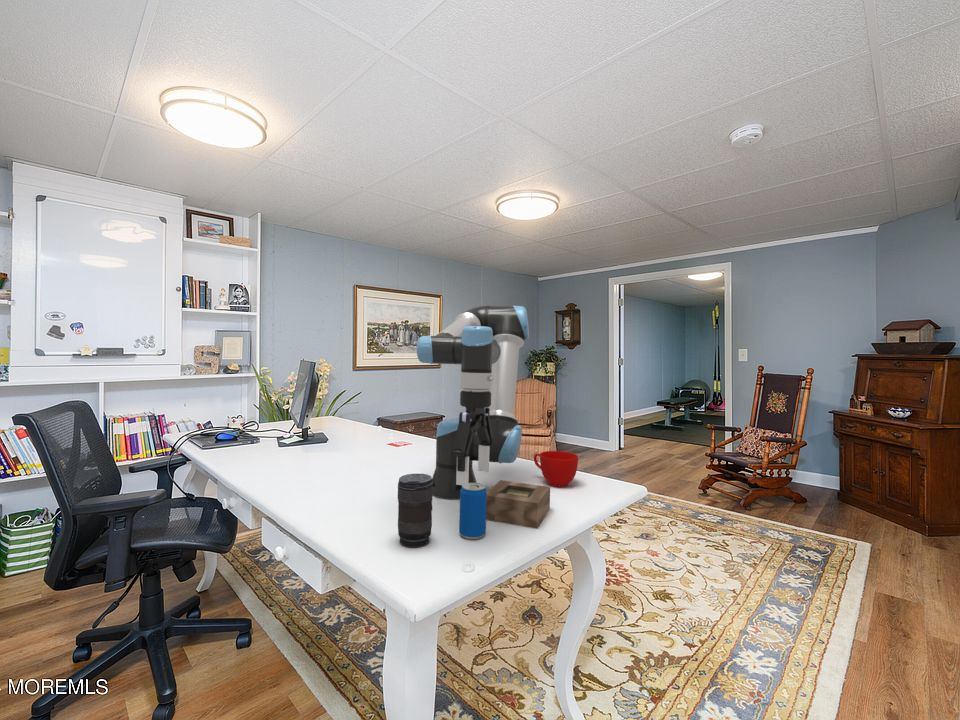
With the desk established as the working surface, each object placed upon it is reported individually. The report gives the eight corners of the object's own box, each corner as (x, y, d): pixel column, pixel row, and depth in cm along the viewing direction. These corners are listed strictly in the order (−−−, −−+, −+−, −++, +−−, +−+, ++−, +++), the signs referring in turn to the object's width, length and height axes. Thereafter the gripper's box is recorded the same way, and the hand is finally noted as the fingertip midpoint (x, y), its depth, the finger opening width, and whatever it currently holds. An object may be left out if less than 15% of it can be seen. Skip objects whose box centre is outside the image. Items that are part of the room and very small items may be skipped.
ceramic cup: (544, 474, 162) (545, 447, 162) (584, 484, 151) (585, 455, 150) (522, 480, 153) (523, 452, 153) (563, 492, 141) (564, 461, 141)
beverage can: (489, 532, 109) (490, 484, 109) (480, 542, 103) (481, 491, 102) (464, 528, 111) (465, 480, 111) (455, 538, 105) (456, 488, 105)
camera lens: (398, 534, 106) (399, 472, 106) (432, 534, 107) (433, 472, 106) (394, 549, 98) (396, 482, 98) (431, 548, 99) (432, 482, 98)
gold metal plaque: (501, 500, 119) (501, 496, 119) (509, 492, 126) (509, 488, 126) (526, 503, 117) (526, 500, 117) (533, 495, 123) (533, 492, 123)
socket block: (482, 519, 117) (482, 494, 117) (500, 501, 131) (500, 480, 131) (536, 528, 112) (537, 503, 111) (549, 509, 126) (550, 486, 125)
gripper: (470, 394, 93) (467, 494, 93) (506, 388, 116) (504, 467, 116) (438, 392, 96) (436, 489, 96) (480, 386, 119) (478, 464, 119)
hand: (473, 477), depth 106 cm, fingers open, 13 cm apart
